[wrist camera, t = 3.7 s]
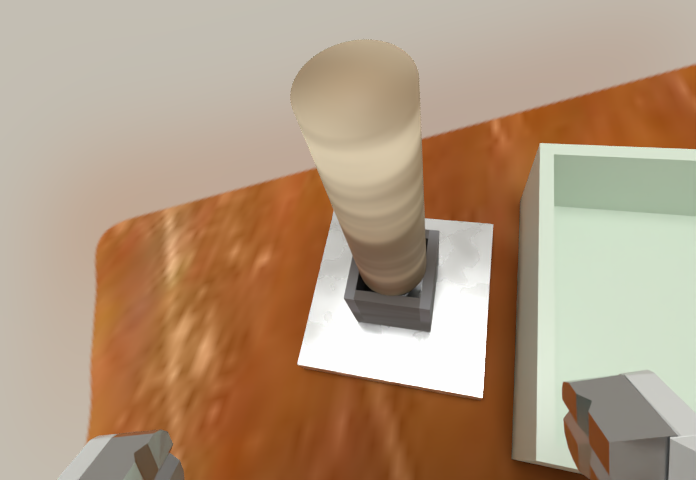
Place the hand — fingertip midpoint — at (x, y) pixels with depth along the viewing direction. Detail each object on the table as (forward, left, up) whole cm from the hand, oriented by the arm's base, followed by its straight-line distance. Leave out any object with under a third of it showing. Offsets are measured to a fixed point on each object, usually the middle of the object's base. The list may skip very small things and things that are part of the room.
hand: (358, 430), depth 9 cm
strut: (+9, +2, -19) cm, 21 cm away
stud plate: (+9, +2, -21) cm, 23 cm away
